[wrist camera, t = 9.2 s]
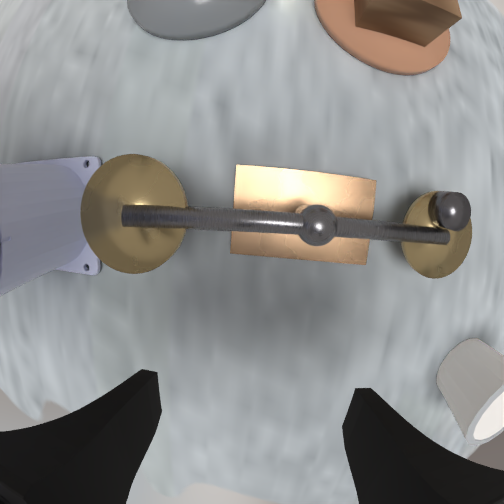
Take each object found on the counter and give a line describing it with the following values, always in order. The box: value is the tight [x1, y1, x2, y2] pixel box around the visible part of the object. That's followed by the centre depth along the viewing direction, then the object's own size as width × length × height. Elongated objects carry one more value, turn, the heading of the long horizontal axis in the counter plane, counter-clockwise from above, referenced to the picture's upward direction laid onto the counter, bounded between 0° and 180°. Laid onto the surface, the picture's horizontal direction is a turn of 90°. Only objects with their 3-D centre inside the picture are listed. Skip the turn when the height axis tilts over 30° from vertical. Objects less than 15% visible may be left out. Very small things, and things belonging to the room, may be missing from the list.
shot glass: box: [436, 338, 504, 446], centre depth 16 cm, size 7×7×7 cm
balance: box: [80, 154, 472, 278], centre depth 14 cm, size 21×5×7 cm, turn 86°
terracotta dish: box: [314, 0, 450, 75], centre depth 14 cm, size 10×10×1 cm
